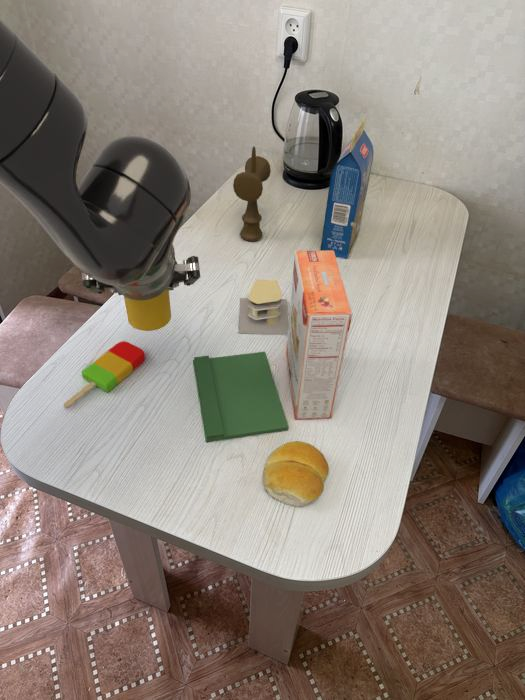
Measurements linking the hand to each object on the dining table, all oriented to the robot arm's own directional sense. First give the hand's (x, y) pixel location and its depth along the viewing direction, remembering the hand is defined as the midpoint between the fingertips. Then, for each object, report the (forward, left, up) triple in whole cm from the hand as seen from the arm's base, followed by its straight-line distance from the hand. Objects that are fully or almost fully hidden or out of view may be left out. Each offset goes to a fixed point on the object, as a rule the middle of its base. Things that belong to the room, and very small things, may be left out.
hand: (145, 285), depth 69 cm
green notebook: (+12, -7, -17) cm, 22 cm away
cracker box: (+23, -7, -17) cm, 29 cm away
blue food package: (+42, +33, -17) cm, 56 cm away
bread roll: (+17, -23, -17) cm, 33 cm away
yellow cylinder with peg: (0, -2, -4) cm, 5 cm away
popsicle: (-8, 0, -17) cm, 19 cm away
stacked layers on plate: (+20, +11, -17) cm, 28 cm away
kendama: (+23, +38, -17) cm, 47 cm away
